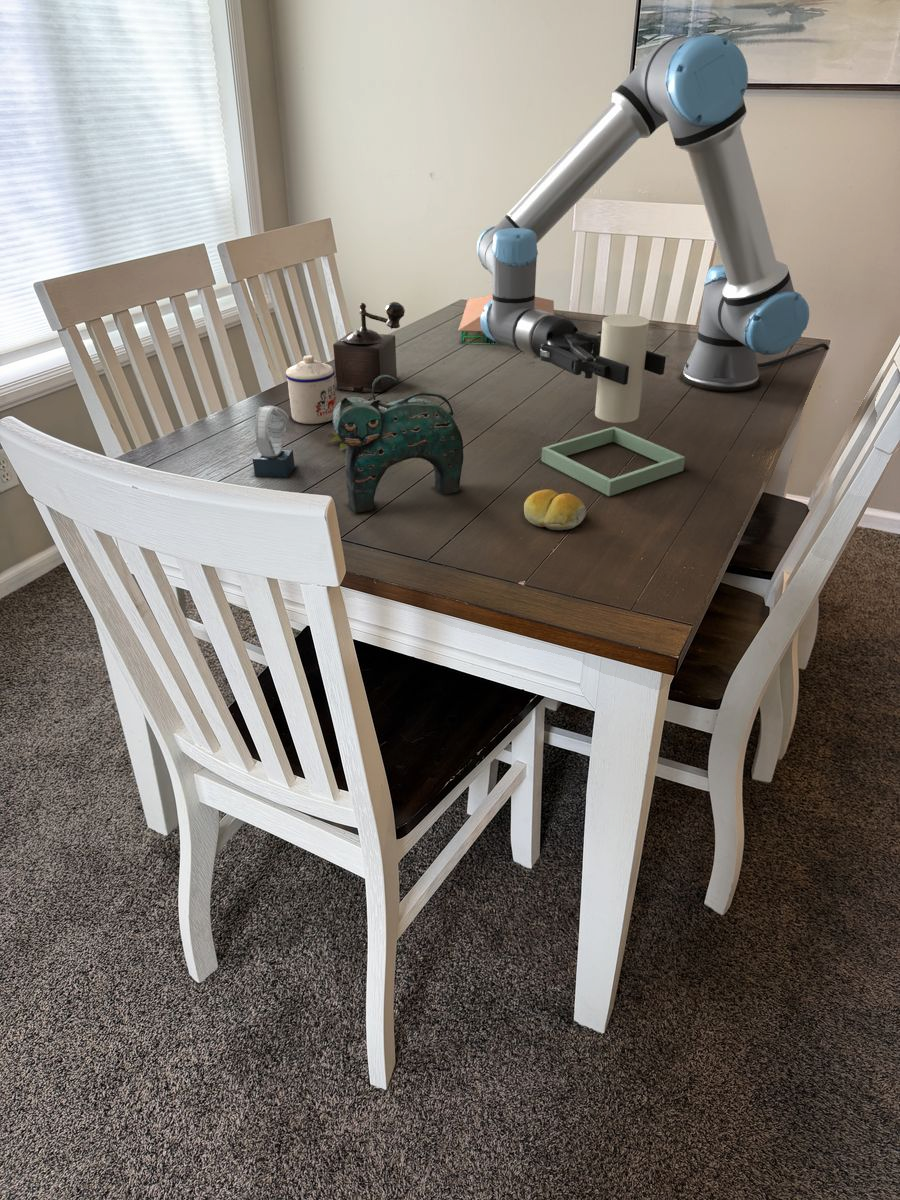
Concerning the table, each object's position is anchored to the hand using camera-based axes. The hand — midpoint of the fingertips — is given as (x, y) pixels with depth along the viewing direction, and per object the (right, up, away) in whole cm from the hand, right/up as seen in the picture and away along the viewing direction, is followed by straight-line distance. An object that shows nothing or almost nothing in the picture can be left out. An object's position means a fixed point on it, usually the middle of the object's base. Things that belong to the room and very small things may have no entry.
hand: (644, 370), depth 126 cm
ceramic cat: (-37, -19, +4) cm, 42 cm away
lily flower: (-46, -7, +23) cm, 52 cm away
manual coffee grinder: (-45, +10, +49) cm, 67 cm away
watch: (-59, -14, +13) cm, 62 cm away
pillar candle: (-3, -5, +8) cm, 10 cm away
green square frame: (-3, -12, +13) cm, 18 cm away
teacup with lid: (-55, +1, +35) cm, 65 cm away
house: (-15, +35, +86) cm, 94 cm away
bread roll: (-14, -23, -2) cm, 27 cm away
